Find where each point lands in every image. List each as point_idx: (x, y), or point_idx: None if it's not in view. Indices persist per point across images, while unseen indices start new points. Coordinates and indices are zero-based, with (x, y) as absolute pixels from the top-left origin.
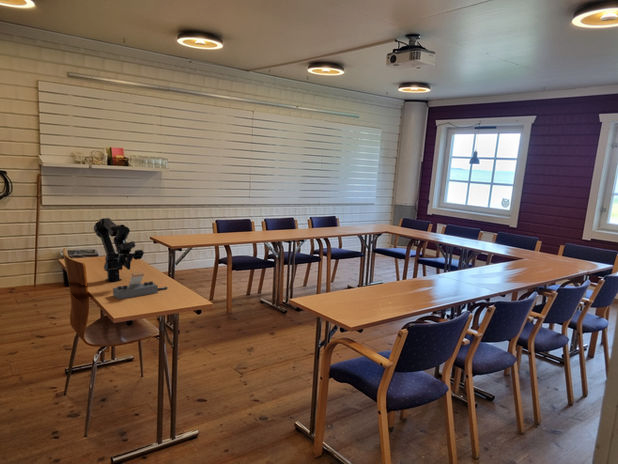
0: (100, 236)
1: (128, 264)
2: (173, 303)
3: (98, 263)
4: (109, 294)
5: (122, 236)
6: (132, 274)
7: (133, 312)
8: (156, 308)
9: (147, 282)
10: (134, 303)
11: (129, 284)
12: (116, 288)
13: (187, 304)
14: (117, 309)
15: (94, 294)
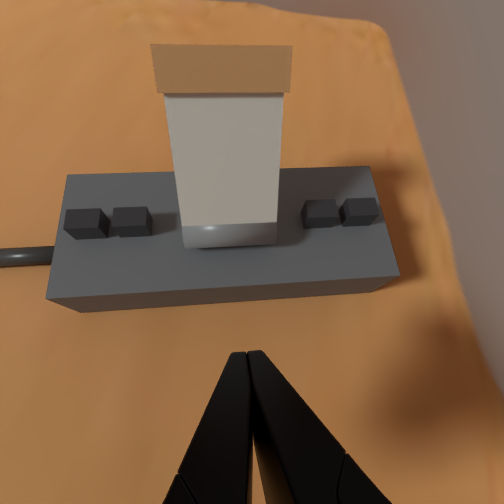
0: None
1: (250, 436)
2: (126, 36)
3: None
4: (389, 344)
5: None
6: (287, 71)
7: (315, 30)
8: (219, 24)
9: (118, 210)
10: (283, 113)
11: (274, 238)
12: (375, 248)
13: (83, 4)
14: (370, 82)
15: (493, 403)
